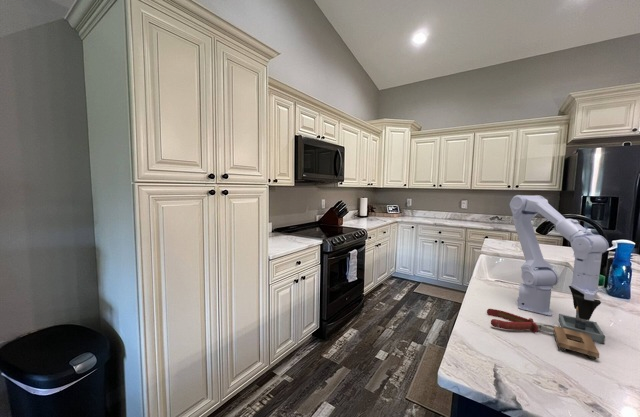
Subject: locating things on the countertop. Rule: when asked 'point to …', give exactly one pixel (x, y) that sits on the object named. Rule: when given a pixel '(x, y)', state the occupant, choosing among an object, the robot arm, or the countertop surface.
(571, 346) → the brown frame
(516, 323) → the pliers
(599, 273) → the robot arm
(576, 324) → the stop pin
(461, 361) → the countertop surface
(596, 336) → the tray
